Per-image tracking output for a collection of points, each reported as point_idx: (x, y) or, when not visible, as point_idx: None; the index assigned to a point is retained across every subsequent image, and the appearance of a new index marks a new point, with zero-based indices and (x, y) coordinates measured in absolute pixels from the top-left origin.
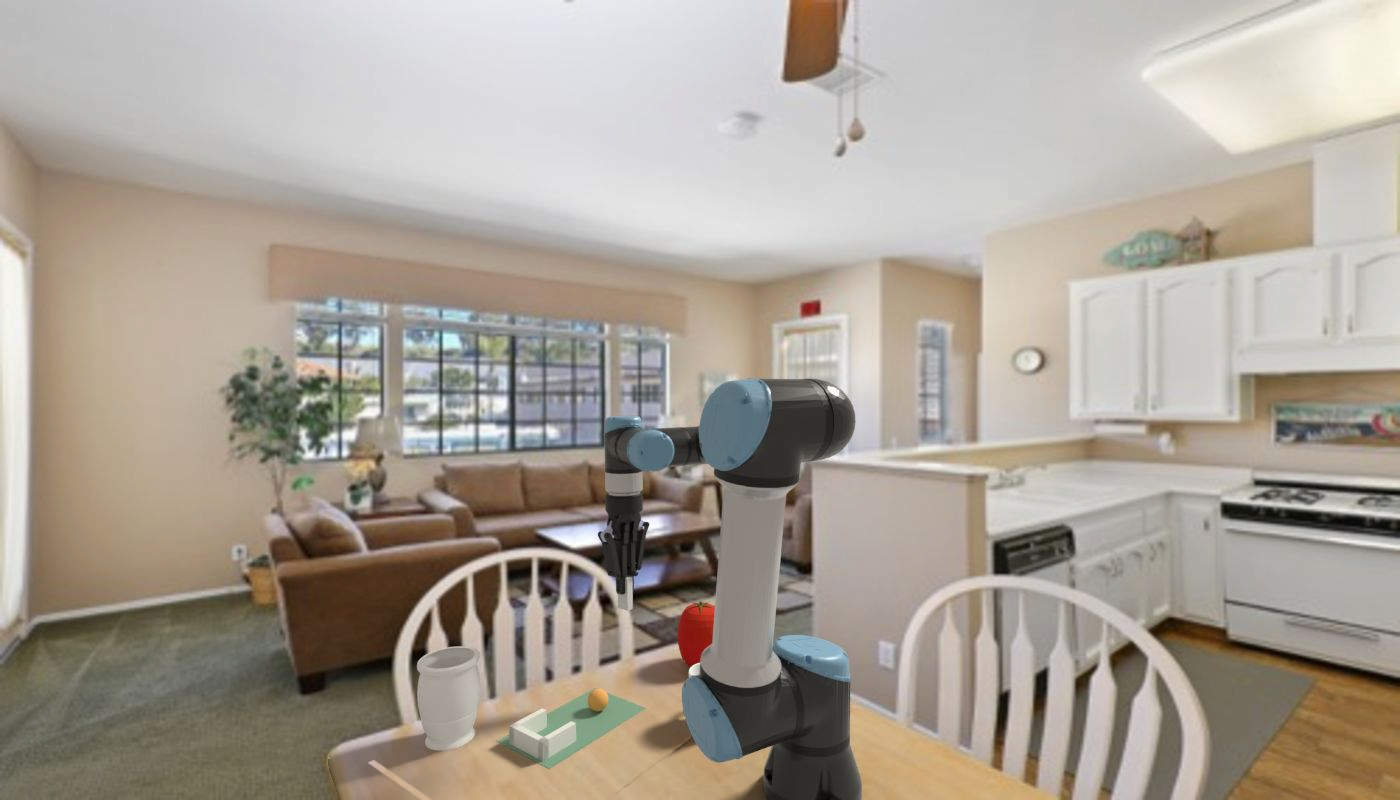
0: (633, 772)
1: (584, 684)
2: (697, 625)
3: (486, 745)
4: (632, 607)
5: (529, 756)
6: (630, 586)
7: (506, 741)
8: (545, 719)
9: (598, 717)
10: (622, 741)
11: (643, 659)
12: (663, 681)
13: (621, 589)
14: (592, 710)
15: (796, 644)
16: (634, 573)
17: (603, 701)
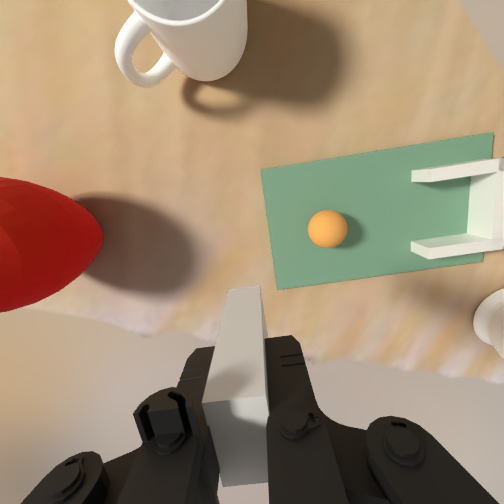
0: (409, 20)
1: (275, 316)
2: (18, 219)
3: (487, 268)
4: (229, 291)
5: None
6: (233, 349)
7: None
8: (422, 244)
9: (338, 205)
10: (354, 119)
11: (146, 319)
12: (169, 231)
13: (298, 356)
14: None
15: None
16: (179, 417)
17: (330, 211)
